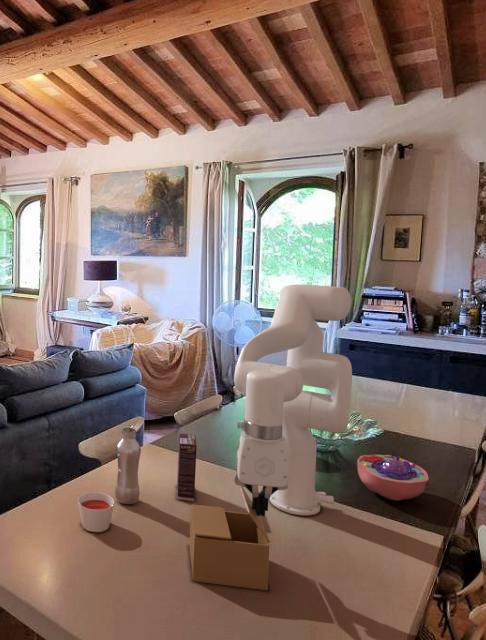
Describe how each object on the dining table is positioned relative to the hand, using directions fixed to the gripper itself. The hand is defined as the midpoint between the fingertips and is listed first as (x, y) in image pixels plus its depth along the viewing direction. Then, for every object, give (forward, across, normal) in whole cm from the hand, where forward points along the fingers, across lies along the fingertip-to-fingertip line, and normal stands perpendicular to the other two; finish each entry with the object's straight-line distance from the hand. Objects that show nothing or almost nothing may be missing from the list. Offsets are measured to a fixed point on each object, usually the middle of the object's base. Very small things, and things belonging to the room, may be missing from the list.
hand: (259, 512), depth 112 cm
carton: (+13, -6, 0) cm, 14 cm away
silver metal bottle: (+13, -29, +25) cm, 41 cm away
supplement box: (+13, -13, +33) cm, 38 cm away
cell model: (+13, +44, +45) cm, 64 cm away
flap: (0, -1, 0) cm, 1 cm away
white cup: (+13, -36, +11) cm, 40 cm away
